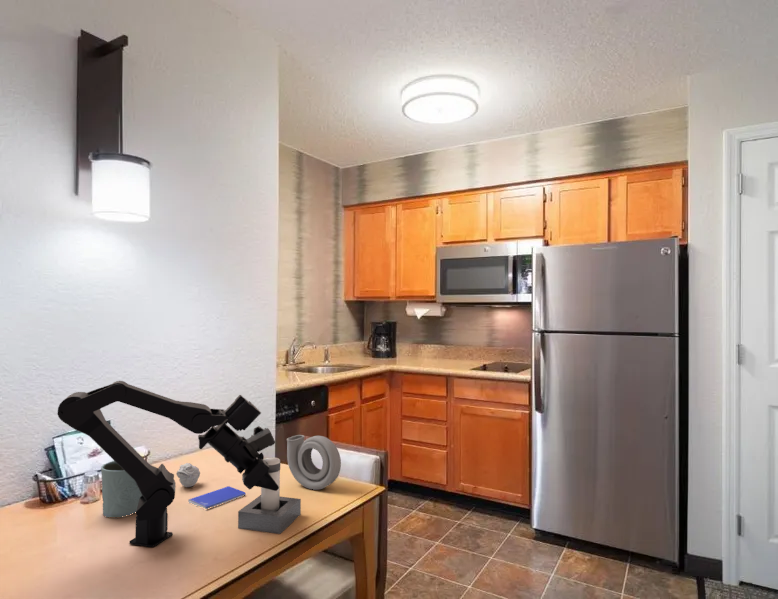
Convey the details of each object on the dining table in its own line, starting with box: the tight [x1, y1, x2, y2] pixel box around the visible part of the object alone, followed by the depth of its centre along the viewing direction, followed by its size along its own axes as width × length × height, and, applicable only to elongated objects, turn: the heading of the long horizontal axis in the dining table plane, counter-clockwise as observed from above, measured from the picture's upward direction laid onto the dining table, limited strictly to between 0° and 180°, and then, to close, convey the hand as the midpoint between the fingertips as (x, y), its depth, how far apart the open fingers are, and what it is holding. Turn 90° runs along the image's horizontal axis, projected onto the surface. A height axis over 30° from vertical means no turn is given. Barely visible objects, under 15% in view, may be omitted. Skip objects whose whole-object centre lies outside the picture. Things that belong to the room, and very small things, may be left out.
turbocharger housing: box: [286, 434, 342, 491], centre depth 145 cm, size 17×6×15 cm, turn 62°
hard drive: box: [188, 485, 247, 509], centre depth 135 cm, size 2×8×12 cm
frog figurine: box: [176, 462, 201, 488], centre depth 144 cm, size 6×7×7 cm
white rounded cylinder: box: [260, 457, 281, 512], centre depth 122 cm, size 5×5×13 cm
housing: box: [237, 494, 302, 535], centre depth 122 cm, size 11×11×4 cm
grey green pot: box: [100, 460, 142, 518], centre depth 127 cm, size 10×10×12 cm
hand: (276, 485), depth 122 cm, fingers closed on white rounded cylinder, 4 cm apart
